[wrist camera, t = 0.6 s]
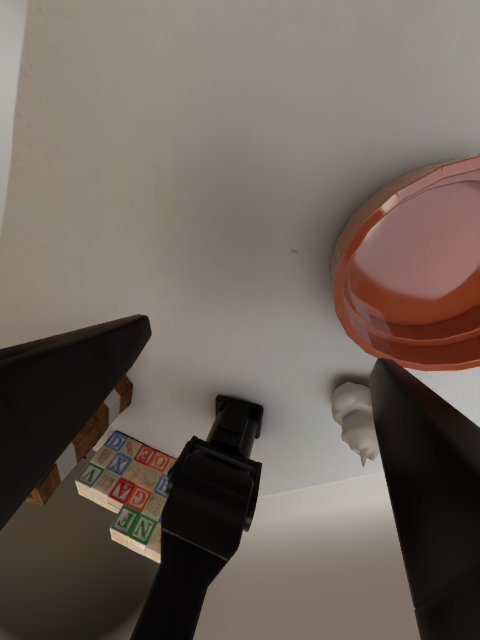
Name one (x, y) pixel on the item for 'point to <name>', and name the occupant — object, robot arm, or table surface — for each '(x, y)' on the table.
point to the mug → (83, 441)
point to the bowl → (415, 269)
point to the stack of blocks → (129, 491)
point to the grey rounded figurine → (356, 419)
